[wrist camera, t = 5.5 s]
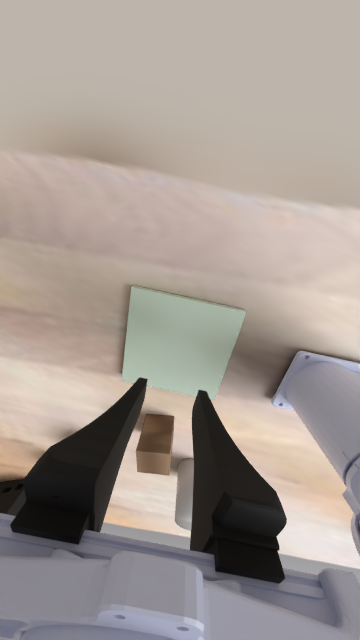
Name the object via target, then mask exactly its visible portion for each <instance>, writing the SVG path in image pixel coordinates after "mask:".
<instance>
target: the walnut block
mask: <svg viewBox="0 0 360 640" xmlns="http://www.w3.org/2000/svg"><path fill="white" fill-rule="evenodd" d="M173 431H174V416H164V415H153V414H146V418H145V421H144V425H143V428H142V432H141V435H140V439H139V442H138V446H137V449H136V457H137V471H138V472H143V473H152V474H162V475H169V473H170V463H171V453H172V443H173Z"/></svg>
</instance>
